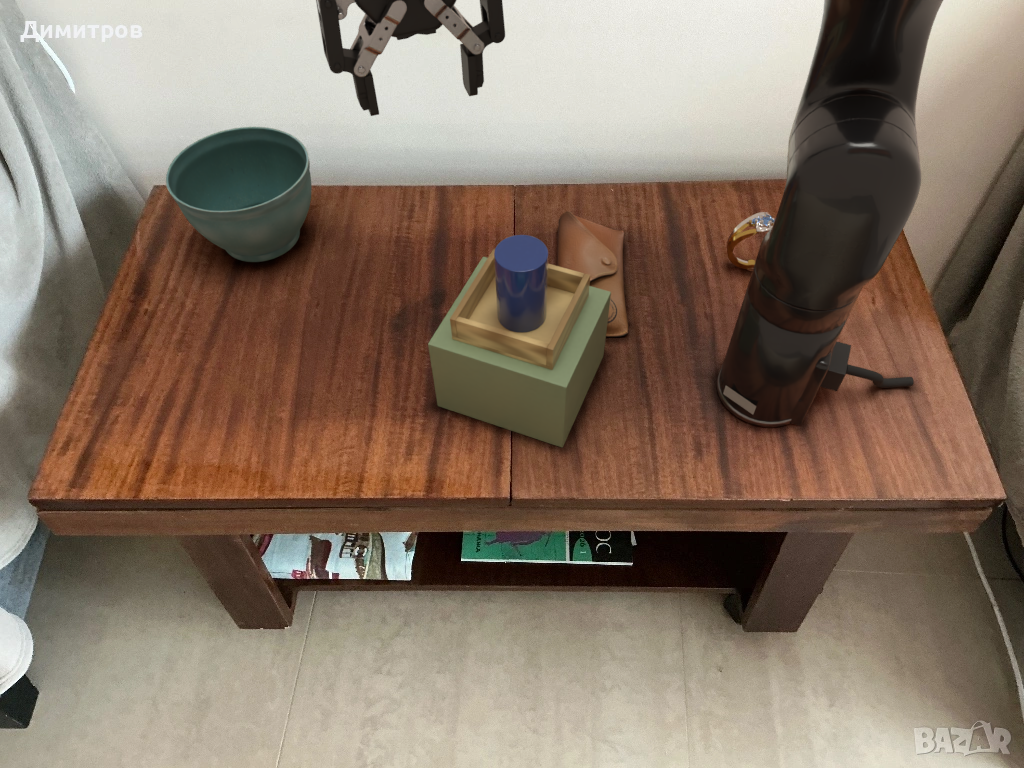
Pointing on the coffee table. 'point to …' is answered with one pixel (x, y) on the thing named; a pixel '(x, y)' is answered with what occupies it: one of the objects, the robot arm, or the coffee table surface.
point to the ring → (761, 223)
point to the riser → (521, 375)
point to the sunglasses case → (596, 262)
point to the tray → (536, 347)
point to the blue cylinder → (521, 282)
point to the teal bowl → (244, 190)
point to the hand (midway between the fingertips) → (422, 100)
